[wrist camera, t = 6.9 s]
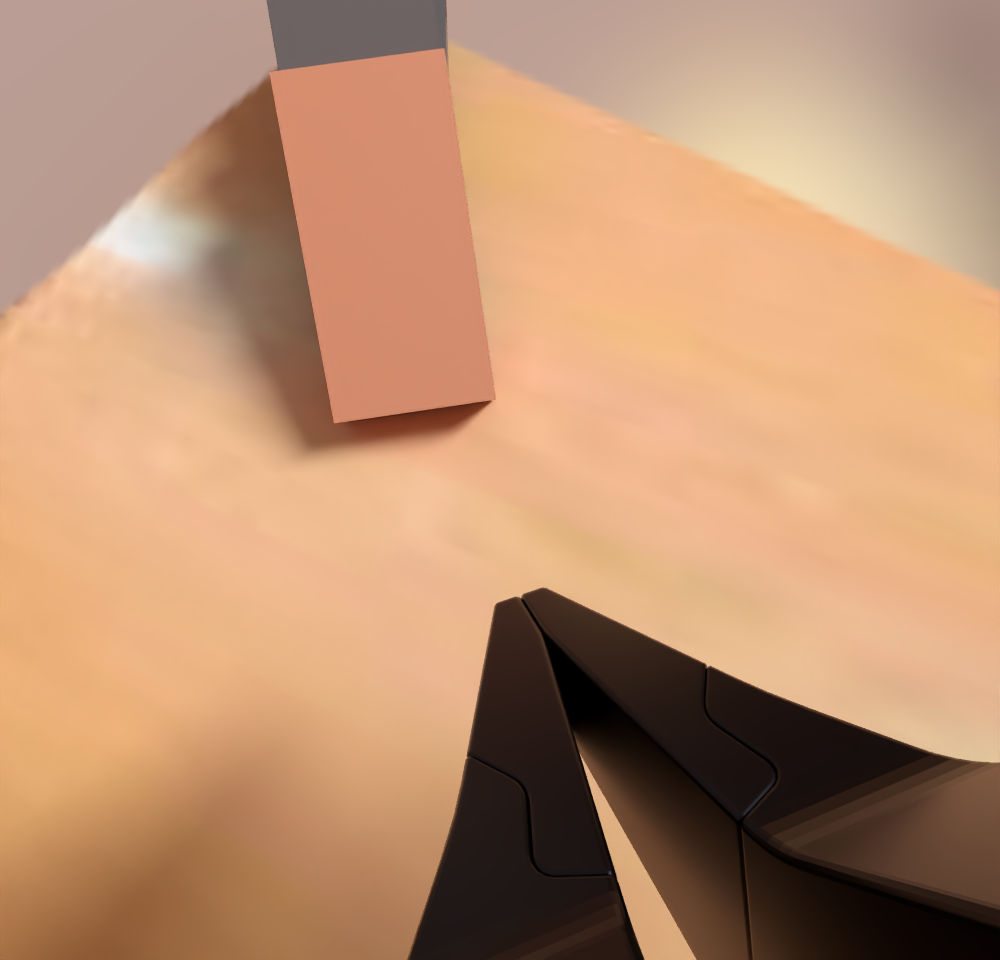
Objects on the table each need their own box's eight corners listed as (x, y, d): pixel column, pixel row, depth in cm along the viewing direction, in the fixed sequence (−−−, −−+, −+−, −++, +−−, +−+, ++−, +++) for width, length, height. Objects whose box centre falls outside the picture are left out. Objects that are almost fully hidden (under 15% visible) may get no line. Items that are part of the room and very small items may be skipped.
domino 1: (473, 302, 19) (428, -35, 18) (321, 322, 19) (263, -16, 18) (473, 310, 21) (432, 0, 19) (333, 328, 21) (281, 19, 19)
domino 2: (495, 399, 18) (444, 47, 17) (333, 423, 18) (269, 72, 16) (494, 399, 19) (447, 79, 18) (345, 421, 19) (287, 101, 18)
